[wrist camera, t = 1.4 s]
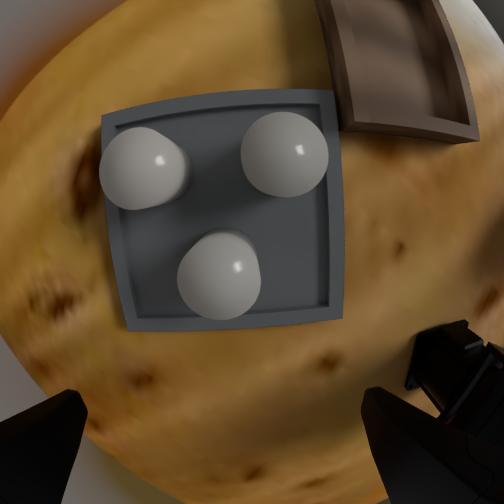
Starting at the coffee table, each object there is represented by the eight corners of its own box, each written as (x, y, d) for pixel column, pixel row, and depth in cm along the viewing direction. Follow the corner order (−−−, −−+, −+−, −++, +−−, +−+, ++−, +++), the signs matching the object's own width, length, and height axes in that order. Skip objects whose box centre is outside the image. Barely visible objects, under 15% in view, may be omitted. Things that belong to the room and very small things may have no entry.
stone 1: (186, 209, 17) (165, 216, 12) (128, 199, 16) (94, 203, 12) (198, 146, 16) (182, 130, 11) (139, 139, 16) (107, 125, 11)
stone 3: (317, 180, 16) (341, 178, 12) (258, 206, 17) (262, 211, 12) (291, 122, 16) (306, 100, 11) (231, 146, 16) (226, 131, 12)
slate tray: (336, 310, 19) (342, 318, 18) (134, 322, 19) (128, 330, 18) (327, 96, 16) (333, 90, 15) (110, 119, 16) (101, 115, 15)
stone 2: (259, 286, 18) (263, 317, 13) (197, 290, 18) (183, 321, 13) (254, 224, 17) (258, 237, 13) (190, 229, 17) (171, 243, 13)
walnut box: (456, 144, 17) (480, 141, 14) (338, 131, 17) (354, 121, 14) (418, 2, 13) (432, -11, 10) (308, -23, 13) (315, -44, 10)
